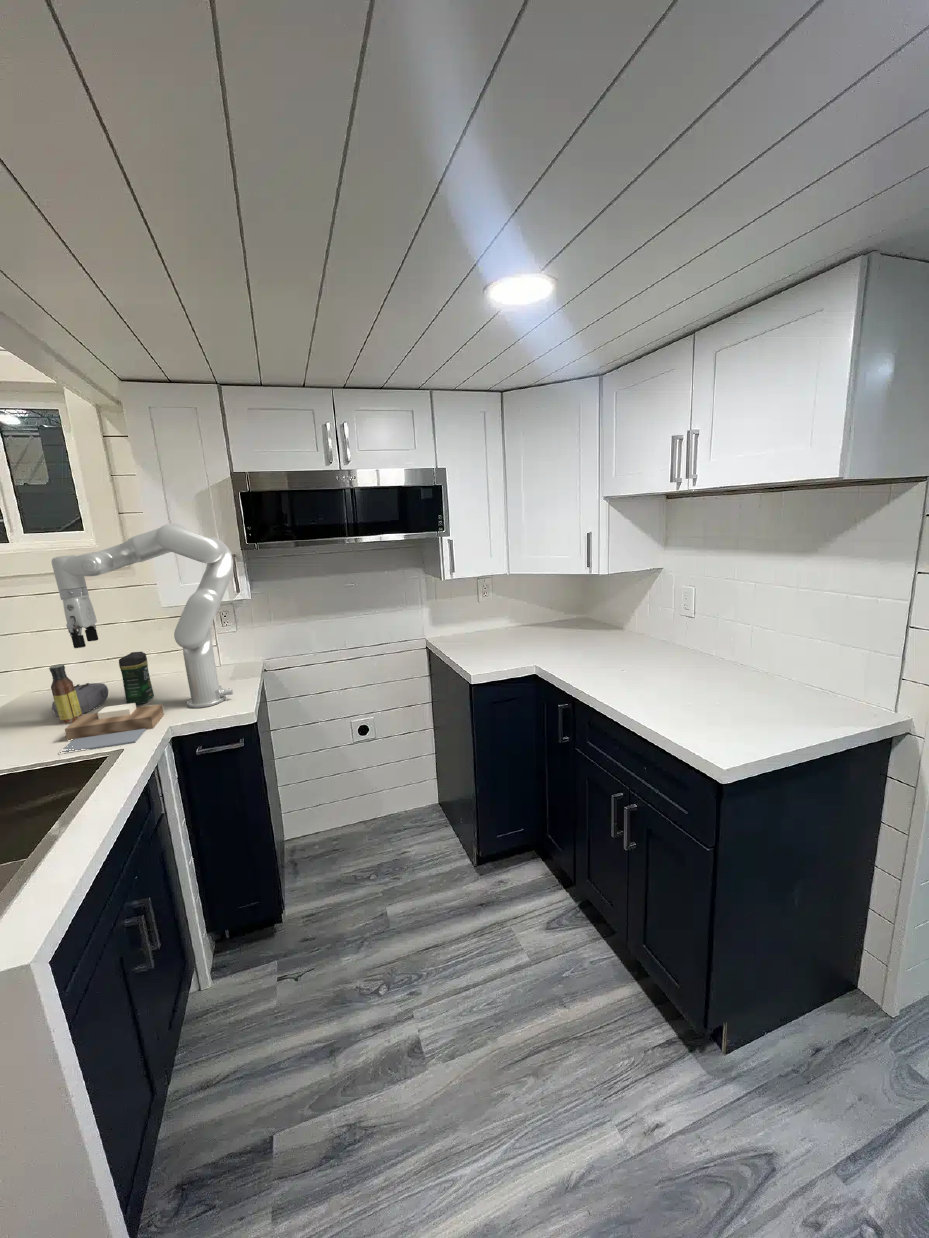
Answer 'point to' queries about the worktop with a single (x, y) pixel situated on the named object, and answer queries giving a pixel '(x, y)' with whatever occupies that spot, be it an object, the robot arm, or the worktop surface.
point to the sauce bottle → (64, 695)
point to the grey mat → (105, 740)
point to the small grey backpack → (88, 696)
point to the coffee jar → (136, 678)
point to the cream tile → (117, 711)
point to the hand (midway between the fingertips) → (86, 644)
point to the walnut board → (115, 722)
